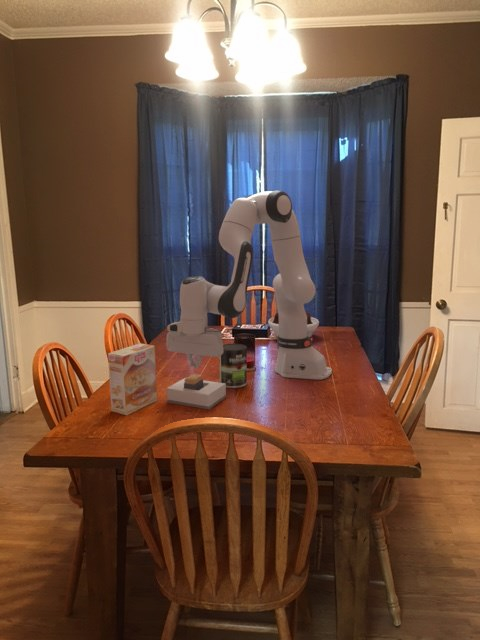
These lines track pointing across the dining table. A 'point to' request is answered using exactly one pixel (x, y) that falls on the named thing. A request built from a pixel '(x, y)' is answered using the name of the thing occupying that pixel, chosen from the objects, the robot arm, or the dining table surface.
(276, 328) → the white round bowl
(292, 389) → the dining table surface
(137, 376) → the coffeecake box
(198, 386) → the plug
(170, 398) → the socket
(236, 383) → the coffee can
